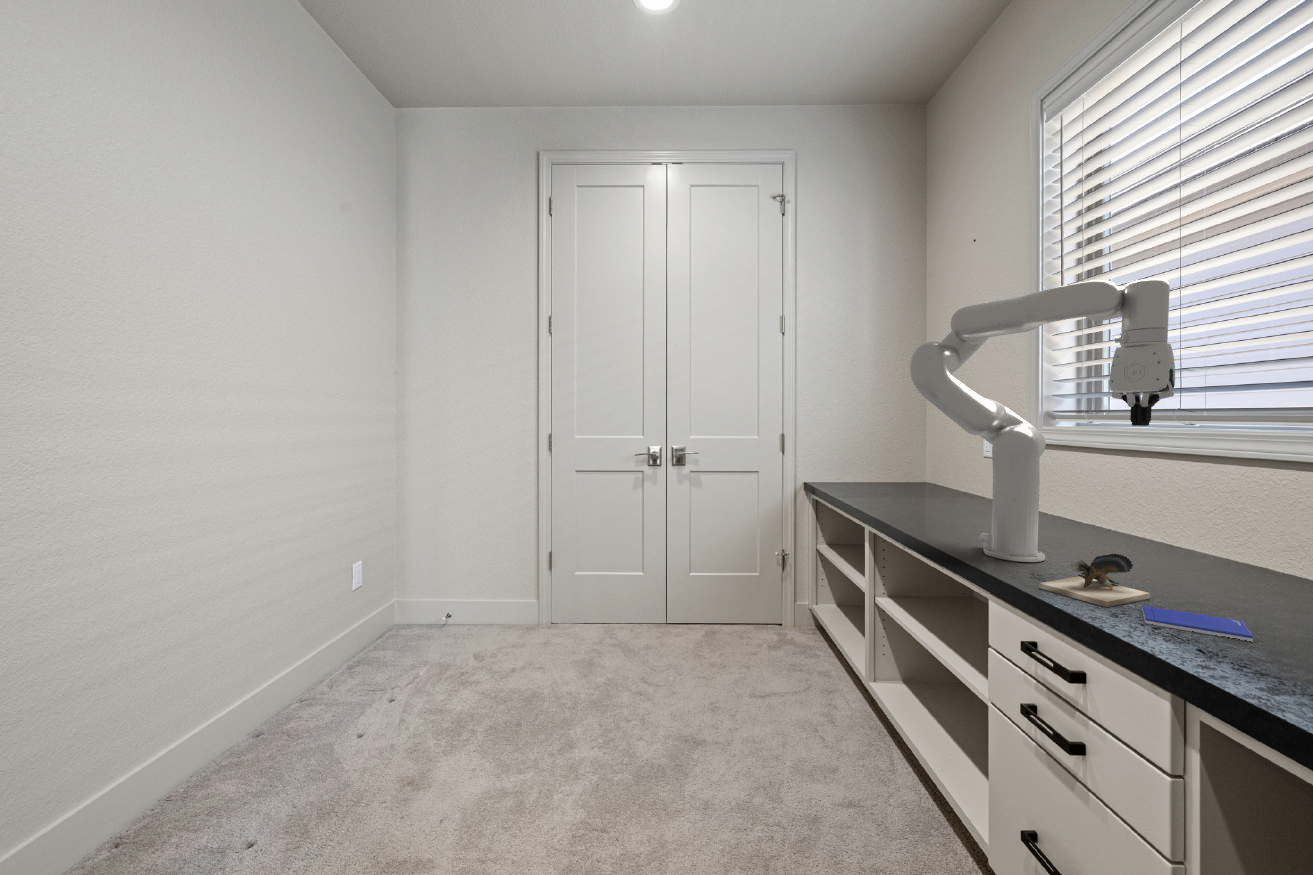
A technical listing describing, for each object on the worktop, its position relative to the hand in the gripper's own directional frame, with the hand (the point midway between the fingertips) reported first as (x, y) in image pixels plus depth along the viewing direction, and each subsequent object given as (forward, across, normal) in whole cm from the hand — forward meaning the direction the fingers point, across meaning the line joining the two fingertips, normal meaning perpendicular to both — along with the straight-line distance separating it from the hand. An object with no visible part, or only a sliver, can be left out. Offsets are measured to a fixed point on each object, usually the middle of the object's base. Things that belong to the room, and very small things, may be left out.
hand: (1140, 425), depth 121 cm
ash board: (+32, +5, -23) cm, 40 cm away
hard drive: (+33, +22, -25) cm, 47 cm away
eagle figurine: (+31, +5, -20) cm, 38 cm away
